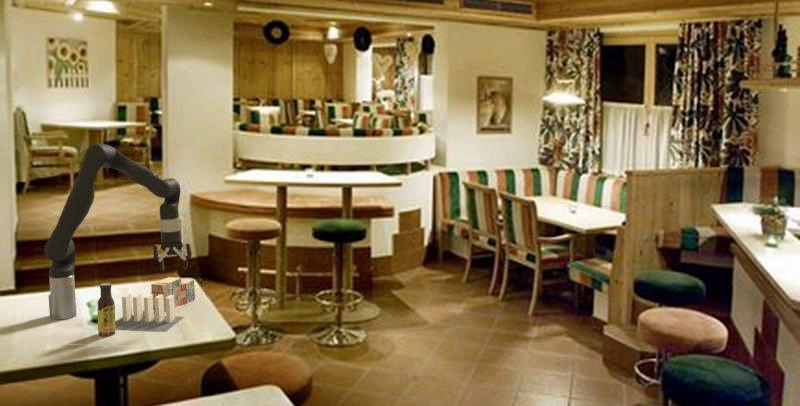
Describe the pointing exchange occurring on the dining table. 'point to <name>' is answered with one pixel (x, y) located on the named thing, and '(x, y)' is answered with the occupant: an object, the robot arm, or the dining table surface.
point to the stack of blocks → (174, 290)
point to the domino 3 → (148, 307)
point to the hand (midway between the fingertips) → (173, 269)
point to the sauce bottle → (106, 312)
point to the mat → (145, 324)
